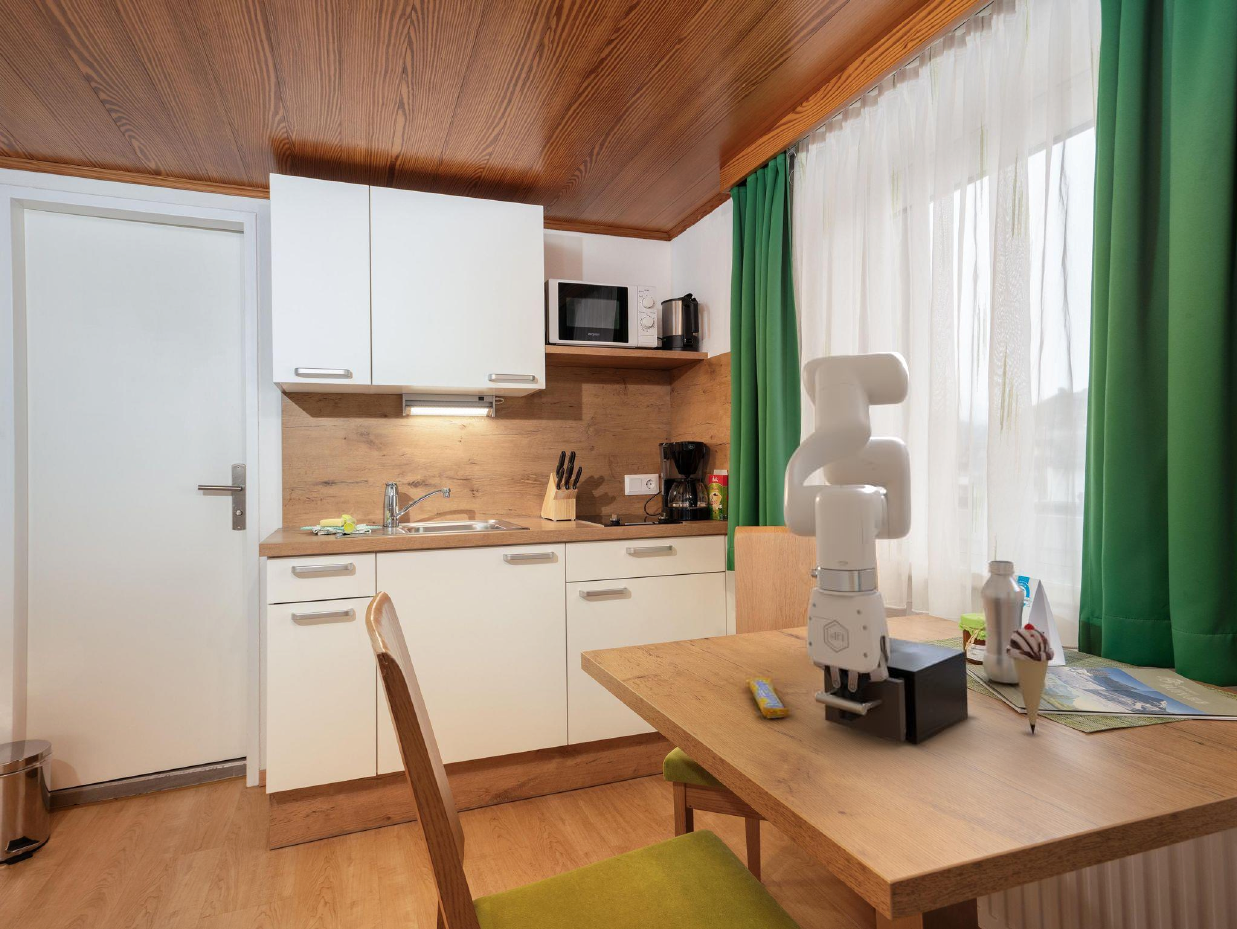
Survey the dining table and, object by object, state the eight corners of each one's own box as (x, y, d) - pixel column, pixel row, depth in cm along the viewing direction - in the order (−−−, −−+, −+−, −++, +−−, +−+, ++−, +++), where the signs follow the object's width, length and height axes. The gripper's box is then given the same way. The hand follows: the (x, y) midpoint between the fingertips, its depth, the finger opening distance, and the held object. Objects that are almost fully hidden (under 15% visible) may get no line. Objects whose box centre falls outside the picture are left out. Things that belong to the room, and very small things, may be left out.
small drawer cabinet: (917, 744, 92) (914, 671, 92) (833, 720, 102) (831, 654, 102) (968, 717, 101) (966, 650, 101) (887, 697, 111) (885, 636, 111)
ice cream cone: (998, 730, 96) (995, 621, 96) (1029, 724, 98) (1025, 616, 98) (1036, 745, 91) (1032, 629, 91) (1068, 738, 93) (1064, 624, 93)
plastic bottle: (1016, 675, 120) (1011, 558, 120) (1035, 688, 113) (1031, 564, 113) (976, 675, 121) (972, 559, 121) (993, 688, 114) (989, 565, 114)
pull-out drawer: (878, 754, 87) (876, 691, 87) (802, 729, 96) (800, 672, 96) (950, 717, 99) (948, 662, 99) (876, 698, 108) (875, 647, 108)
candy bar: (791, 721, 102) (790, 708, 102) (762, 721, 102) (761, 708, 102) (770, 685, 119) (770, 674, 119) (745, 685, 119) (745, 674, 119)
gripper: (783, 578, 97) (787, 710, 97) (883, 590, 86) (888, 740, 86) (815, 571, 102) (819, 698, 102) (914, 582, 90) (919, 725, 90)
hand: (851, 717), depth 94 cm, fingers closed
